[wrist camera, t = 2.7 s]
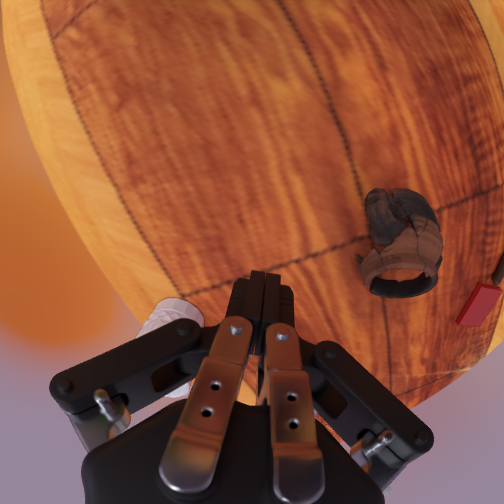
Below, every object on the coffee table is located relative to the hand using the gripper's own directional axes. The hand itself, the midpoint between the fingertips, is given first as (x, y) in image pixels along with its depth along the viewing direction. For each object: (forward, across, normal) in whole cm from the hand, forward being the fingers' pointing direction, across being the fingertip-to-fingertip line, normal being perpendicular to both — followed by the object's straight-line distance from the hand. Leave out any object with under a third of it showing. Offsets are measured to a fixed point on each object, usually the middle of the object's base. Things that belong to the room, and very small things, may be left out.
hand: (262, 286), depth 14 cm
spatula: (+13, -33, +2) cm, 35 cm away
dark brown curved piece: (+13, -12, 0) cm, 18 cm away
